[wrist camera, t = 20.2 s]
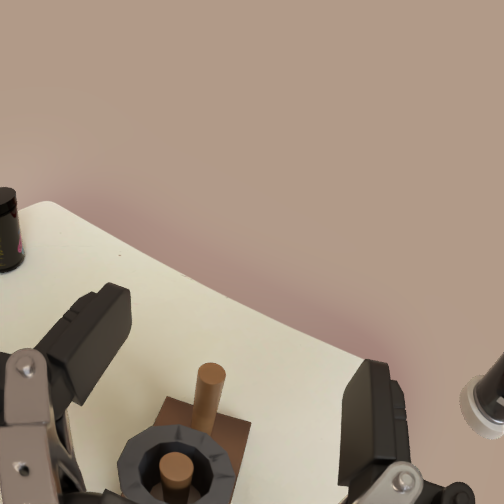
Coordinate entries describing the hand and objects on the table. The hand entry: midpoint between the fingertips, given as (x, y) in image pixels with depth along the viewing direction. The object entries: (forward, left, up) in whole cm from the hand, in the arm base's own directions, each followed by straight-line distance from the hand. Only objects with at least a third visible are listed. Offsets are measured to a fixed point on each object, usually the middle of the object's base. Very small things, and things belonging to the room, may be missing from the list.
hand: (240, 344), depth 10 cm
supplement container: (+23, -33, -20) cm, 45 cm away
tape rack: (0, -2, -20) cm, 20 cm away
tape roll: (+2, +1, -18) cm, 18 cm away
